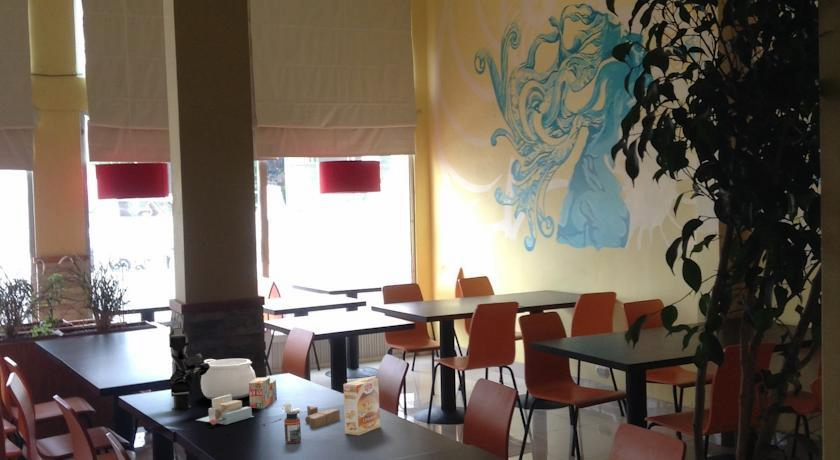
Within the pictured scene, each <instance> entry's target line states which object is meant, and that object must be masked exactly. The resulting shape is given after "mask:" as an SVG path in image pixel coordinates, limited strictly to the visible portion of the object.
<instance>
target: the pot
mask: <svg viewBox="0 0 840 460" xmlns="http://www.w3.org/2000/svg"><path fill="white" fill-rule="evenodd" d="M203 363H208V364H209V365H210V368H209V369H208V371H207V372H206V373H205V374H204V375H201V378H200V383H201V388H200V389H201V392H202V393H203V396H205V398H207V399H208V400H212V399H214V398H217V397H221V396H225V395H229V394H230V395H232V400H238V399H242V398H243V399H244V398H247V397H248V396H249V382H251V381H253V380H254V379H256V378H257V376H256V373H255V370H254V369H253V367H252V366H251V364H253V361H251V359H249V358H224V359H223V358H222V359H213V358H208V359H204V360H203Z"/></svg>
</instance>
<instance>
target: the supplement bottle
mask: <svg viewBox="0 0 840 460" xmlns="http://www.w3.org/2000/svg"><path fill="white" fill-rule="evenodd" d="M285 417H286V418H285V419H284V420H283V421H284V422H283V423H284V426H283V427H284V441H285V443H286V444H288V445H289V444H290V445H292V444H293V445H294V444H299V443H301V441H302V435H301V434H302V432H301V429H302V428H301V418H300V417H298V412H294V411H293V412H292V411H291V412H286V416H285Z"/></svg>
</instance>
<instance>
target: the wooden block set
mask: <svg viewBox="0 0 840 460" xmlns="http://www.w3.org/2000/svg"><path fill="white" fill-rule="evenodd" d="M306 408H307V411H306V412H307V416H306V417H305V423H306V424H308V425H309V426H310V428H311V429H318V428H319V427H323V426H325V425H329V424H332V423H333V422H334V423H335V422H337V421H339V420H340V419H341V418H340V417H341V414H340V412H341V411H340V409H336V408H329V409H325V410H321V411H318V408H319V407H318V406H308V405H307V406H306Z"/></svg>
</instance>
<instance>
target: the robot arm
mask: <svg viewBox="0 0 840 460" xmlns="http://www.w3.org/2000/svg"><path fill="white" fill-rule="evenodd" d="M168 337H169V338H168V339H169V340H168V341H169V348H171V355H170V356H171V358H172V359H173V361H174V368H175V370H174V372H173V373H172V375H171V376H170V377H169V380H170V394H171V398H173V405H174V406H173V407H171V410H178V411H182V410H186V409H191V408H192V406H191V405H190V404H189V403H190V401H189V396H191V395H192V391H193V390H192V386H193V387H195V388H197V389H201V378H200V376H201V377H202V375H204V374H205V373H206V372H207V371H208V369H209V368H210V365H209V364H208V363H207V362H206V363H204V362H203V363H202V361H204V360H203V359H204V357H203V355H202V354H201V353H197V354H195V356H192V357H191V356H190V357H188V355H187V353H186V350H187V347H188V345H189V338H188V333H187V332H186V331H185V330H184V327H173V328H172V331H171V332H170V333H169V335H168ZM198 364H199V365H198Z"/></svg>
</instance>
